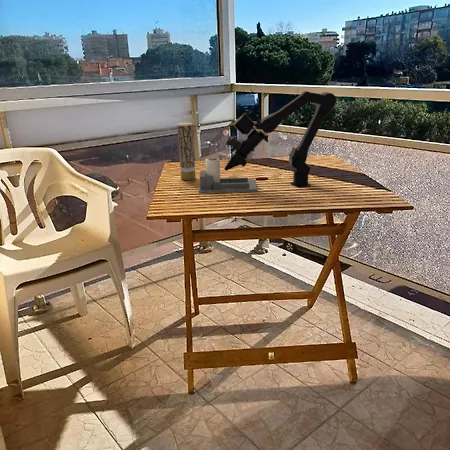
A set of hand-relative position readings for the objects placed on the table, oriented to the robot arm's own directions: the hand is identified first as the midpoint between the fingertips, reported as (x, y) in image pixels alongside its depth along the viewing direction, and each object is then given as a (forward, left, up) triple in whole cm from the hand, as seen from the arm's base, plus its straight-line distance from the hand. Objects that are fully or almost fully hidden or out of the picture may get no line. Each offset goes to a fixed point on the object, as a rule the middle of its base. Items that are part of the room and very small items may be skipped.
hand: (225, 169), depth 168 cm
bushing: (+2, +5, -6) cm, 8 cm away
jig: (0, -1, -7) cm, 7 cm away
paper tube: (+20, +10, -8) cm, 23 cm away
